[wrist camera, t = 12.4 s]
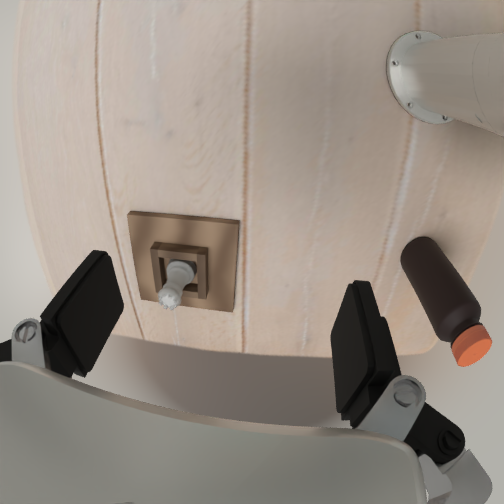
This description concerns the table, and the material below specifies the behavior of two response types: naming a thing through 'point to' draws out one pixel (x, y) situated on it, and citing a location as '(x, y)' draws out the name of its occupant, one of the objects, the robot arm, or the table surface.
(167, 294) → the rook chess piece
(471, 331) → the bottle
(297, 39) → the table surface
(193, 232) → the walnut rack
